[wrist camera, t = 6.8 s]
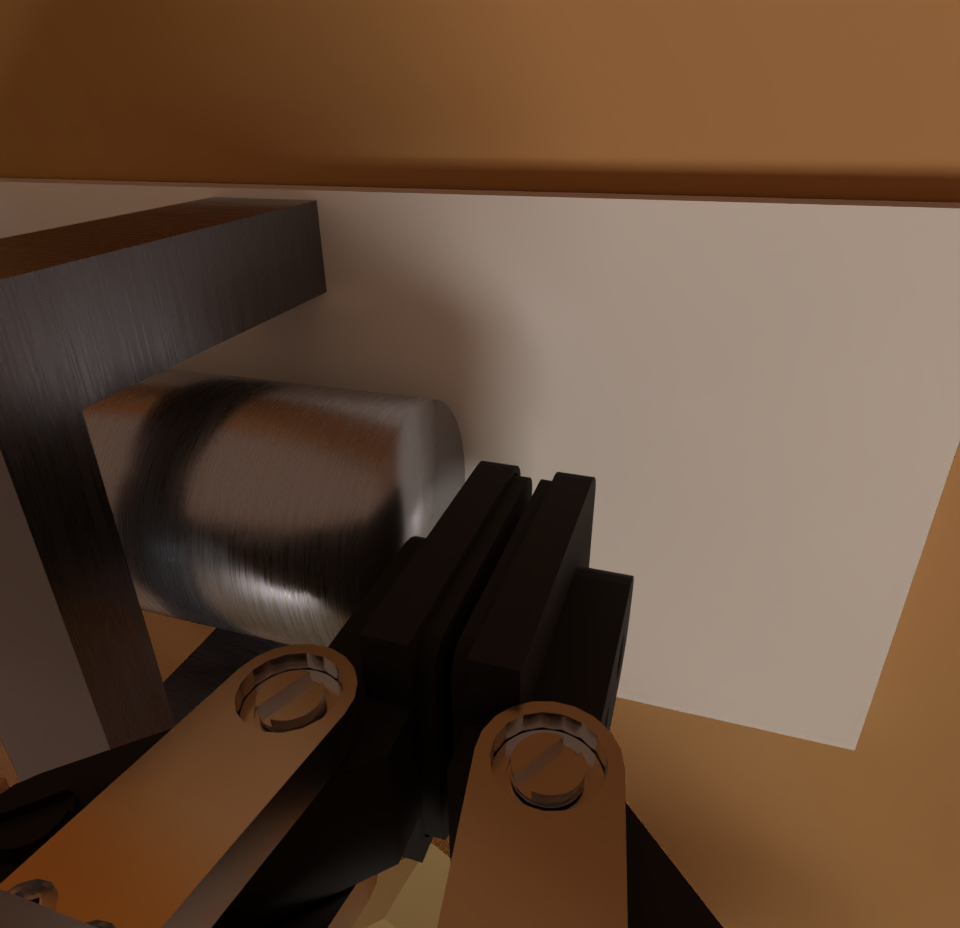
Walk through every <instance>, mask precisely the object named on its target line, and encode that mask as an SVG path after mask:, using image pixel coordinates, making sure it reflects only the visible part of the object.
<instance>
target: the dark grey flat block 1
mask: <svg viewBox="0 0 960 928" xmlns="http://www.w3.org/2000/svg"><path fill="white" fill-rule="evenodd" d="M326 292H327V289H326V280H325V271H324V262H323V253H322V244H321V235H320V226H319V218H318V209H317V200H294V199H263V198H232V197H210V198H205V199H200V200H195V201H190V202H184V203H179V204H174V205H169V206H164V207H159V208H154V209H149V210H144V211H138V212H133V213H128V214H123V215H118V216H113V217H108V218H103V219H98V220H92V221H87V222H82V223H77V224H72V225H67V226H62V227H57V228H51V229H46V230H41V231H36V232H31V233H26V234H21V235H16V236H11V237H5V238H0V738H1V740H2V742H3V745H4V747H5V749H6V751H7V753H8V755H9V758H10V760H11V762H12V764H13V766H14V768H15V770H16V773H17V775H18V777H19V779H20V781H21V782H22V781H24V780H26V779H29V778H31V777H33V776H35V775H38V774H40V773H43V772H46V771H49V770H52V769H55V768H57V767H60V766H63V765H66V764H69V763H72V762H75V761H78V760H81V759H84V758H87V757H90V756H93V755H95V754H98V753H101V752H104V751H107V750H110V749H113V748H116V747H119V746H122V745H125V744H128V743H131V742H133V741H136V740H139V739H142V738H145V737H148V736H151V735H154V734H157V733H160V732H163V731H166V730H169V729H172V728H174V727H175V726H176V725H177V724H178V723H179V722H180V721H181V720H182V719H184V718H185V717H186V716H187V715H188V714H189V713H190V712H191V711H192V710H194V709H195V708H196V707H197V706H198V705H199V704H200V703H201V702H202V701H204V700H205V699H206V698H207V697H208V696H209V695H210V694H211V693H212V692H213V691H215V690H216V689H217V688H218V687H219V686H220V685H221V684H222V683H223V682H225V681H226V680H227V679H228V678H229V677H230V676H231V675H232V674H233V673H235V672H236V671H237V670H238V669H239V668H240V667H242V666H243V665H245V664H246V663H247V662H249V661H250V660H252V659H253V658H254V657H256V656H259V655H261V654H263V653H265V652H268V651H270V650H272V649H275V648H280V647H284V646H289V645H288V644H284V643H280V642H275V641H271V640H267V639H263V638H258V637H254V636H250V635H246V634H241V633H237V632H233V631H229V630H224V629H220V628H216V629H215V630H214V631H213V632H212V633H211V634H210V635H209V636H208V637H207V639H206V640H205V641H204V642H203V643H202V644H201V645H200V646H199V647H198V648H197V649H196V650H195V651H194V652H193V653H192V654H191V655H190V656H189V657H188V658H187V659H186V660H185V661H184V662H183V663H182V664H181V665H180V666H179V667H178V668H177V669H176V670H175V671H174V672H173V673H172V674H171V675H170V676H169V677H168V678H167V679H166V681H165V682H164V683H163V681H162V678H161V675H160V671H159V668H158V665H157V661H156V658H155V654H154V651H153V648H152V644H151V641H150V638H149V634H148V631H147V628H146V624H145V621H144V617H143V614H142V611H141V607H140V604H139V601H138V597H137V594H136V591H135V587H134V584H133V580H132V577H131V574H130V570H129V567H128V564H127V560H126V557H125V554H124V550H123V547H122V544H121V540H120V537H119V533H118V530H117V527H116V523H115V520H114V517H113V513H112V510H111V507H110V503H109V500H108V496H107V493H106V490H105V486H104V483H103V480H102V476H101V473H100V470H99V466H98V463H97V459H96V456H95V453H94V449H93V446H92V443H91V439H90V436H89V433H88V429H87V426H86V422H85V419H84V416H83V412H82V410H83V409H85V408H87V407H89V406H91V405H93V404H95V403H97V402H99V401H101V400H103V399H106V398H108V397H110V396H112V395H114V394H116V393H118V392H120V391H122V390H124V389H126V388H128V387H130V386H133V385H135V384H137V383H139V382H141V381H143V380H145V379H147V378H149V377H151V376H153V375H155V374H157V373H160V372H162V371H164V370H166V369H168V368H170V367H172V366H174V365H176V364H178V363H180V362H182V361H185V360H187V359H189V358H191V357H193V356H195V355H197V354H199V353H201V352H203V351H205V350H207V349H209V348H212V347H214V346H216V345H218V344H220V343H222V342H224V341H226V340H228V339H230V338H232V337H234V336H236V335H239V334H241V333H243V332H245V331H247V330H249V329H251V328H253V327H255V326H257V325H259V324H261V323H263V322H266V321H268V320H270V319H272V318H274V317H276V316H278V315H280V314H282V313H284V312H286V311H288V310H290V309H293V308H295V307H297V306H299V305H301V304H303V303H305V302H307V301H309V300H311V299H313V298H315V297H318V296H320V295H322V294H324V293H326Z"/></svg>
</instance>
